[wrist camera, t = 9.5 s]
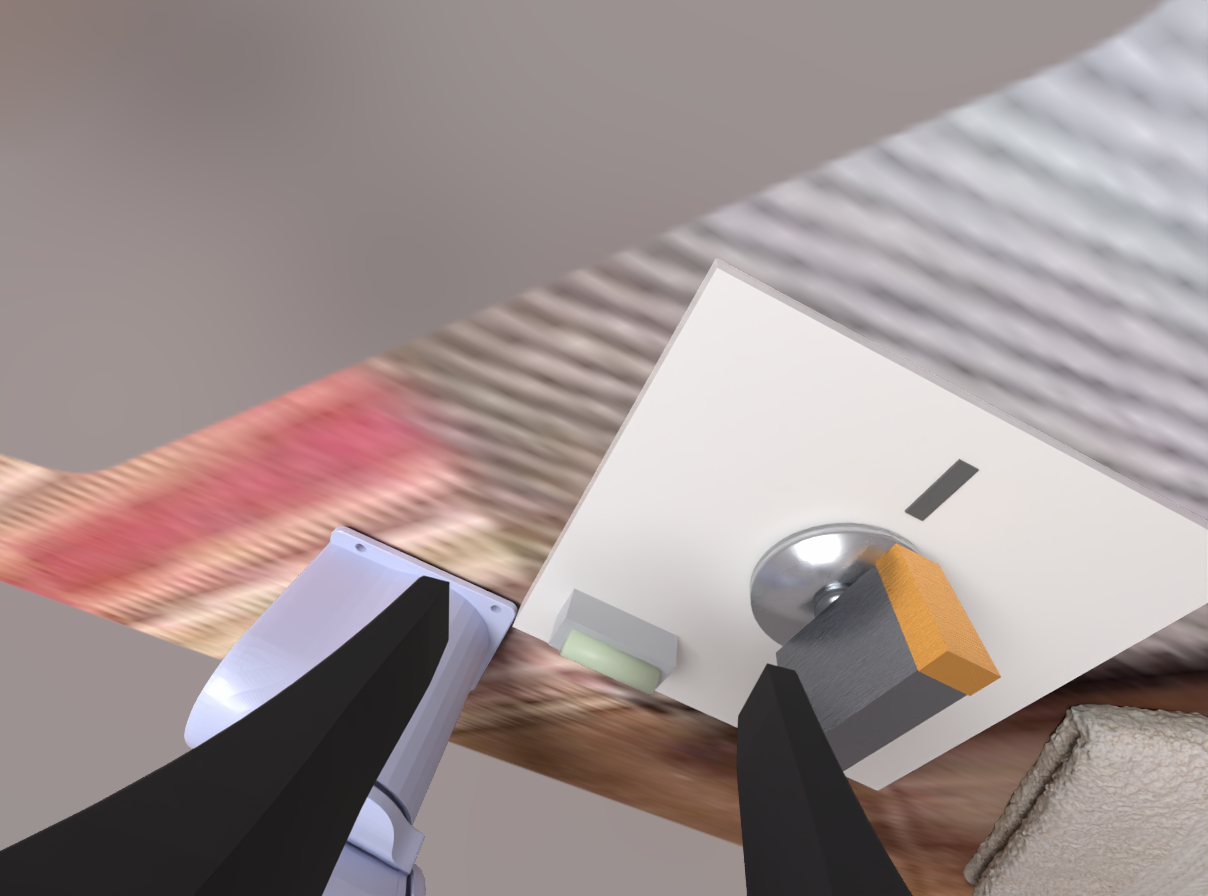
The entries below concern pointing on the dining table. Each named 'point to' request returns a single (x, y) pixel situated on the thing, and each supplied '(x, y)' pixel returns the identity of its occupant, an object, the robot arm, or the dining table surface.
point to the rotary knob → (867, 632)
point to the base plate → (846, 519)
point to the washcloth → (1106, 811)
